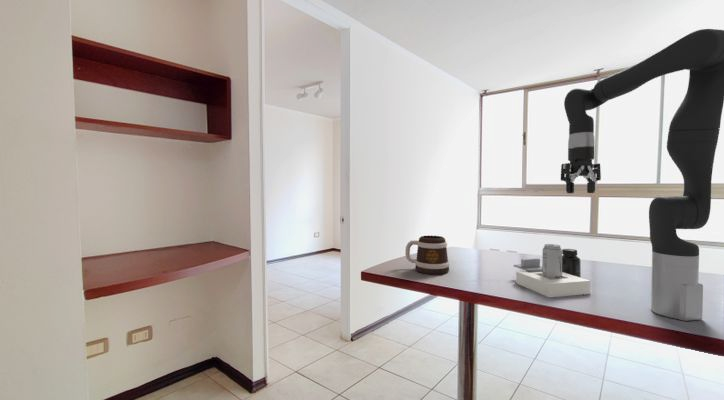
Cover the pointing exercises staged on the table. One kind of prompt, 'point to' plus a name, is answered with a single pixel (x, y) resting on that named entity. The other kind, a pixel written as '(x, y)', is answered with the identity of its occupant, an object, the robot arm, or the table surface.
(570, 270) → the supplement bottle
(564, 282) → the socket plate
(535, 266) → the grey stepped block
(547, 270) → the energy drink can
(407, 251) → the mug
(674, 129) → the robot arm
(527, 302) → the table surface
